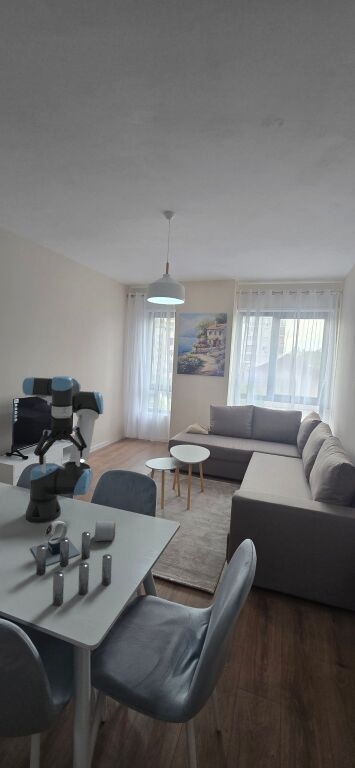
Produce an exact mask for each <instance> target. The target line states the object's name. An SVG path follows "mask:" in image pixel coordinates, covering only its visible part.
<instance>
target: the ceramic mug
mask: <svg viewBox="0 0 355 768" xmlns="http://www.w3.org/2000/svg"><path fill="white" fill-rule="evenodd" d="M95 521H96V522H95V526H94V527H95V528H94V530H95V532H94V542H103V541H104V542H105V541H114V540H115V537H116V525H117V524H116V522H115V521H112V520H95Z"/></svg>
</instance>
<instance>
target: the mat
mask: <svg viewBox="0 0 355 768" xmlns="http://www.w3.org/2000/svg"><path fill="white" fill-rule="evenodd" d="M65 538H68V539H69V537H68V536H65ZM40 545H45V546H46V567H49V566H52V565H54V564H57V563H60V553H59V554H56V555H52V554H51V552H50V551H49V549H48V541H47V542H44V543H41V544H37V545H34V546H32V547H30V550H31V552H32V553H33V555H34V556H35V558H36V556H37V547H38V546H40ZM77 556H81V553H80V551H79V550H78V548H76V546H75V545H74V544H73V542H72V541H71V540H70V539H69V559H72V558H75V557H77Z"/></svg>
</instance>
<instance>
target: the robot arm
mask: <svg viewBox="0 0 355 768" xmlns="http://www.w3.org/2000/svg"><path fill="white" fill-rule="evenodd" d="M21 388H22V389H21V391H22V393H23V395H25V396H30V397H38V398H40V399H42V400H45V401H47V402H48V403H50V404H51V416H52V417H51V427H50V428H51V429H43V430H42V433H41V434H42V435H41V437H40V439H39V441H38V443H37V445H36V447H35V449H34V451H33V454H34V456H36V457H38V463H39V465H37V466H34V467H33V468H32V469H31V471H30V474H29V475H30V477H29V502H28V505H27V507H26V510H25V520H26V521H27V522H30V523H34V524H43V523H44V524H45V523H49V522H50V523H51V522H54V521H56V519H58V518H59V517H60V516H61V514H62V510H61V509H62V507H61V505H60V502H59V498H58V495H59V496H60V495H63V496H75V497H76V496H84V495H87V494H88V492H89V490H90V488H91V485H92V481H93V473H94V471H93V469H91V465H90V464H89V463H88V462H89V457H90V452H91V447H92V446H91V445H92V440H93V435H94V430H95V423H96V420H98V419H99V418H100V415H103V414H104V398H103V395H102V393H101V392H99V391H83V390H81V388H82V385H81V383H80V381H79V380H78V379H76V378H75V377H74V378H73V377H71V376H65V375H59V376H58V375H57V376H53V377H52V378H48V377H33V376H31V377H30V376H29V377H25V378H24V380H23V381H22V387H21ZM73 414H75V415H76V417H77V421H76V425H75V426H74V427H72V424H73V418H72V415H73ZM73 432H74V436H73V435H71V434H72V433H73ZM50 435H51V436H50ZM49 436H50V438H49V439H48V437H49ZM47 439H48V441H47ZM62 440H65V441H66V440H69V441H70V442H71V443H72V446H71V451H70V456H69V460H68V461H67V462H65V464H64V467H61V468H60V467H59V464H57V463H55V462H53V463H51V462H49V463H48V462H47V456H46V454H47V452H48V451H49V450H50V448H51V447H52V446H53V444H54V443H56V442H57V441H62Z"/></svg>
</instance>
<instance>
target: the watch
mask: <svg viewBox="0 0 355 768" xmlns="http://www.w3.org/2000/svg"><path fill="white" fill-rule="evenodd" d="M60 524H61V525H64V527H63V530H62V532H61V534H60V536H59V537H55V538H52V537H53V535H54V534H55V532H56V531H55V530H56V527H58V525H60ZM67 533H68V526H67V524H66V523H65V522H64V521H62V520H53V521H51V522H50V523H49V524H48V525H47V526H46V527H45V529H44V537H45V539H46V541H47V542H48V549H49V551H50V552H51V554H52V555H56V554H59V553H60V540H61V539H64V538H65V537H67V536H66V535H67ZM51 538H52V539H51Z"/></svg>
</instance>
